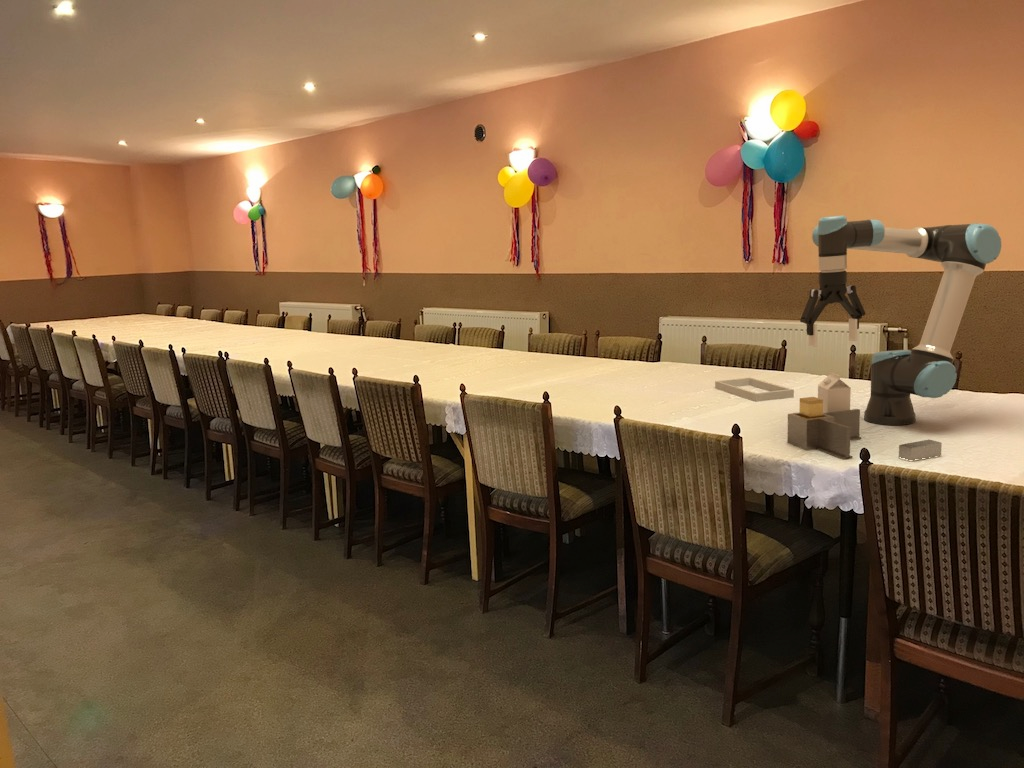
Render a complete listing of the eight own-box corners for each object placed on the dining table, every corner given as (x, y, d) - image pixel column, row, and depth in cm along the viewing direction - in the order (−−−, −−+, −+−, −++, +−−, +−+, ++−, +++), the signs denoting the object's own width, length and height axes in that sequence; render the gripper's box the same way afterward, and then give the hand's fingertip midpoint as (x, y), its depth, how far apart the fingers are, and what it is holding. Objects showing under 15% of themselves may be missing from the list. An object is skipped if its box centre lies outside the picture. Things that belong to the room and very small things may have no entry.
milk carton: (838, 429, 238) (840, 371, 235) (849, 435, 231) (851, 374, 228) (816, 431, 238) (818, 372, 235) (826, 436, 231) (828, 376, 228)
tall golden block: (812, 441, 226) (813, 396, 224) (822, 445, 222) (823, 399, 220) (799, 443, 225) (799, 398, 223) (808, 447, 221) (809, 401, 218)
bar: (928, 453, 210) (929, 439, 209) (941, 456, 206) (941, 442, 205) (898, 459, 206) (899, 445, 205) (910, 462, 202) (911, 448, 202)
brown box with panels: (847, 434, 232) (848, 406, 230) (898, 451, 212) (899, 420, 210) (787, 442, 227) (787, 413, 225) (833, 460, 207) (834, 429, 205)
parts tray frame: (750, 384, 317) (750, 377, 317) (793, 397, 288) (793, 389, 288) (715, 388, 313) (715, 381, 313) (755, 401, 284) (755, 393, 284)
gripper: (860, 266, 222) (860, 337, 226) (786, 274, 217) (788, 347, 221) (878, 266, 215) (878, 339, 219) (802, 275, 210) (803, 350, 214)
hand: (833, 343), depth 220 cm, fingers open, 13 cm apart
